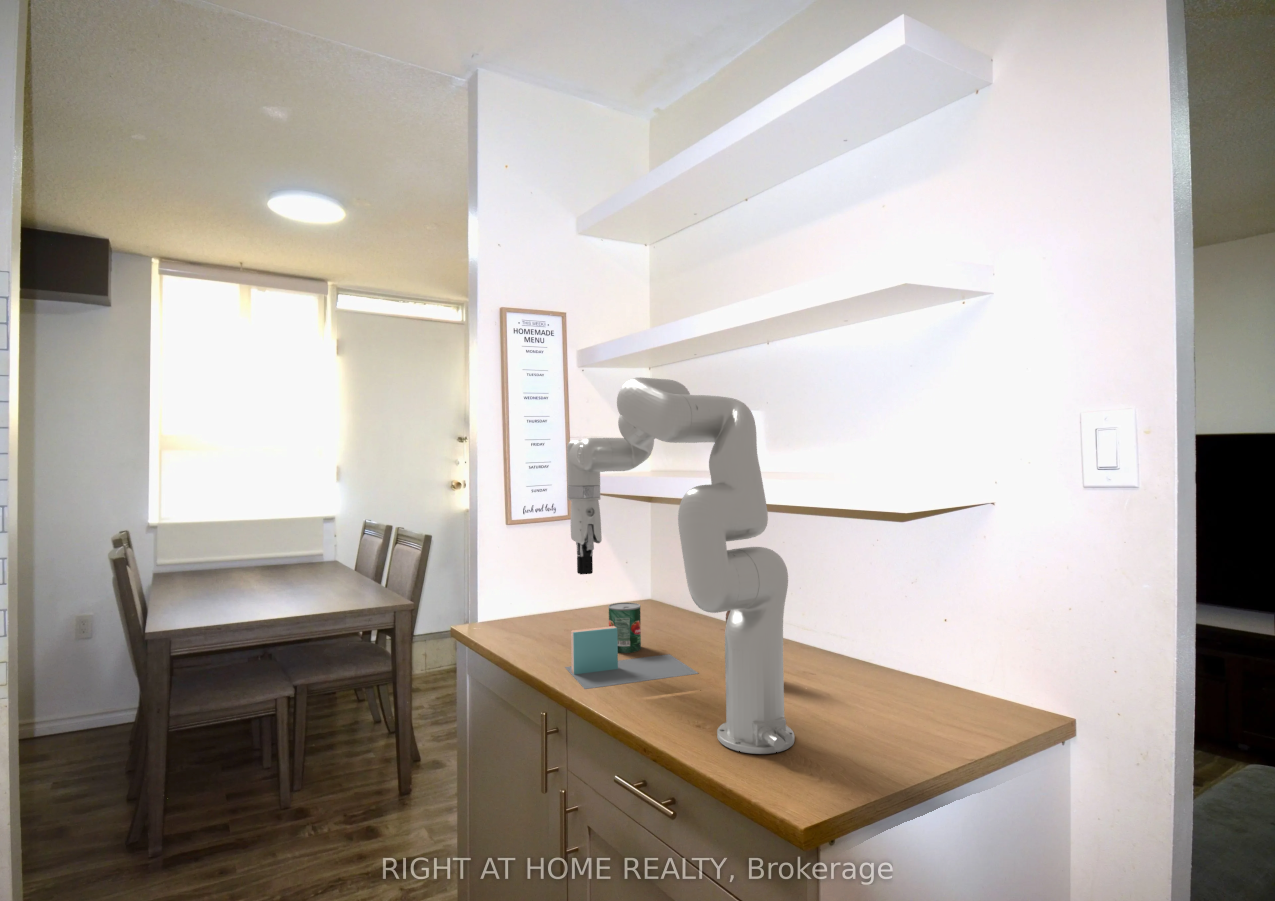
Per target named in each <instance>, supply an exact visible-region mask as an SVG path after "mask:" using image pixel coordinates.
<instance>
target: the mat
mask: <svg viewBox="0 0 1275 901" xmlns="http://www.w3.org/2000/svg"><path fill="white" fill-rule="evenodd" d="M564 668H565V669H566V670H567V671H568V673H570V675H571V676H572V677H573V678H574V679H575V680H576V681H577V683H578V684H579V685H580V686H581V687H582V688H583V689H584V690H589V689H596V688H603V687H605V688H606V687H609V686H610V687H611V686H617V685H625V684H633V683H640V682H647V681H655V680H663V679H669V678H677V677H683V676H690V675H691V676H692V675H698V674H700V673H699V672H698V671H696V670H694V669H693V668H692V667H690V666H689V665H687V664H685V663H683V662H682V661H680V660H679V659H677V658H676V657H675V656H673V655H671V654H670V653H668V654H661V655H652V656H644V657H635V658H628V659H618V669H613V670H605V671H598V672H590V673H582V674H573V673H572V665H571V666H564Z"/></svg>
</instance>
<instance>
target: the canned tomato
mask: <svg viewBox="0 0 1275 901" xmlns="http://www.w3.org/2000/svg"><path fill="white" fill-rule="evenodd" d="M607 607H608V627H610V626H615V627H617V642H618V654H630V653H636V652H640V650H641V649H642V646H641V645H642V634H641V630H642V629H641V628H642V625H641V624H642V623H641V622H642V621H641V620H642V619H641V604H640V603H637V602H636V603H635V602H615V603H611V604H608V606H607Z"/></svg>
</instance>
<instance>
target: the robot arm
mask: <svg viewBox="0 0 1275 901" xmlns="http://www.w3.org/2000/svg"><path fill="white" fill-rule="evenodd" d="M616 408H617V412H618V413H619V417H618V421H617V422H618V423H617V424H618V430H619V432H620V434H621V436H622V437H588V438H584V439H573V440H570V441H569V442H568V443H567V445H566V457H567V458H566V459H567V460H566V463H567V464H566V465H567V476H566V477H567V480H566V481H567V501H571V502H570V537H571V540H572V541H573V542H575V545H576V555H577V556H576V568H577V569H576V570H577V571H576V572H577V574H578V575H592V574H593V569H594V566H593V565H594V564H593V555H594V554H593V553H594V549H595V544H594V543H596V544H601V542H602V539H603V538H602V520H601V509H600V502H599V501H600V500H601V473H605V472H628V471H631V470H633V469H635V468H637V467H638V466H640V465H642V464H643V463H644V462H646V460H648V459H649V458H650V456H651V455H652V452H653V449H654V444H655V439H656V440H658V441H662V442H665V443H673V444H674V443H675V444H677V443H679V444H680V443H681V444H682V443H683V444H684V443H685V444H686V443H688V444H689V443H690V444H695V443H696V444H697V443H713V445H712V448H711V451H710V454H709V459H708V469H709V470H708V471H709V473H710V474H709V476H710V481H711V483H710V484H701V485H697V486H693V487H692V488H690V489H689V490H687V491H686V493H685V494H684V495H683V497H682V499H681V501H680V503H679V507H678V512H677V513H678V514H677V524H678V532H679V534H678V535H679V540H680V546H681V554H682V558H683V565H684V573H685V578H686V584H687V587H688V592H689V594H690V597H691V599H692V601H693V602H694V605H696V606H697V608H699V609H700V610H701V611H703V612H706V613H712V614H718V613H722V612H723V613H725V612H727V611H730V610H731V611H730V613H729V616H728V619H727V623H726V622H725V631H724V659H725V662H724V663H725V665H724V666H725V667H724V669H725V705H726V706H725V718H726V721H725V722H723V723H722V724H720V725H719V726H718V728H717V730H716V736H717V737H716V738H717V739H718V741H719V742H720V744H722V746H724V747H726V748H727V749H730V750H733V751H736V752H739V751H740V752H741V753H745V754H751V755H752V754H754V755H769V754H776V752H777V753H781V752H784V751H786V750H788V749H790V748H791V747H793V745H794V743H795V732H794V731H793V729H791V727H789V726H788V725H787V719H786V718H785V689H784V688H785V686H784V683H785V680H784V613H785V605H786V598H787V594H788V587H789V574H788V568H787V566H786V563H785V561H784V559H783V557H781V555H780V554H778V553H777V551H774V550H773V549H770V548H768V547H763V546H747V547H741V548H740V547H738V548H731V549H727V542H733V541H735V542H736V541H741V540H748V539H752V538H756V537H758V536H760V535H761V534H763V533H764V532H765V530H766V529H767V526H768V523H769V522H768V520H769V513H768V507H767V499H766V493H765V489H764V483H763V478H762V472H761V467H760V461H759V455H758V446H757V445H758V444H757V442H758V441H757V438H758V437H757V436H758V435H757V427H756V426H757V425H756V421H755V420H756V419H755V417H754V415H753V412H752V411H751V409H750V408H749V406H747V404H746V403H744V402H743V401H741V400H738V399H736V398H732V397H729V396H719V395H704V394H691V393H690V391H689V390H688V388H687V387H686V386H685V385H684V384H683V383H681V382H679V381H678V380H673V379H666V378H653V377H652V378H651V377H634V378H631V379H629V380H627V381H626V382H624V383H623V385H622V386H621V387H620V389H619V391H618V392H617V397H616Z"/></svg>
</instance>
